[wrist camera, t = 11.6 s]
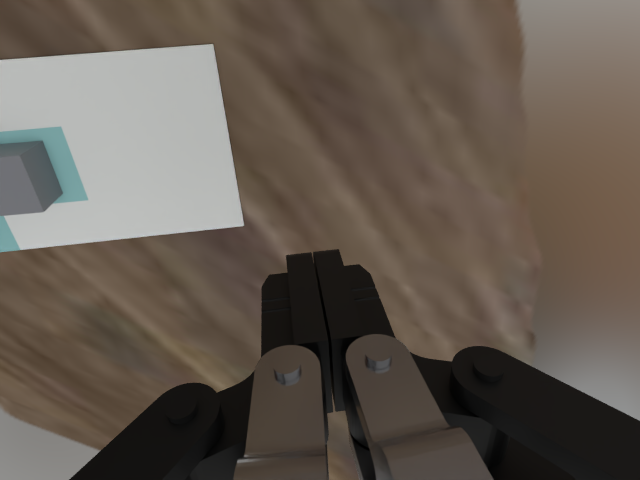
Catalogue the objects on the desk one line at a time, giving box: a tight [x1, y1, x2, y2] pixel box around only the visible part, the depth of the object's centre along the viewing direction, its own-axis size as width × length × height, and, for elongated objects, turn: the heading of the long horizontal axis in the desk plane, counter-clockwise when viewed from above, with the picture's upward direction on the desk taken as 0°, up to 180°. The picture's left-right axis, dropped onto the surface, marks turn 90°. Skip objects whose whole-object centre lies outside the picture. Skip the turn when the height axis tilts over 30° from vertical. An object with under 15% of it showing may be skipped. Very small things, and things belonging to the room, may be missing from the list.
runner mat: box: [0, 44, 244, 250], centre depth 38 cm, size 17×29×1 cm, turn 94°
